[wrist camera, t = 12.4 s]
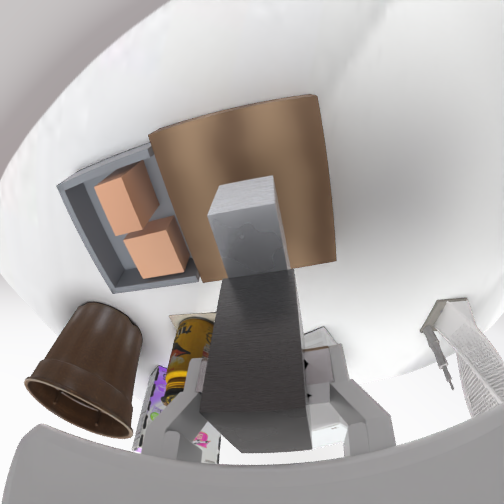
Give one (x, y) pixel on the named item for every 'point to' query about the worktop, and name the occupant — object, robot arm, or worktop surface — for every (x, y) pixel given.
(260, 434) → the scraper
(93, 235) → the tray
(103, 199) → the tile
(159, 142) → the board
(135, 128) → the worktop surface
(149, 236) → the tile
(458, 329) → the skyscraper
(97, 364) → the plant pot
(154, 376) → the candy box
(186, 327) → the condiment
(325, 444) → the supplement box
